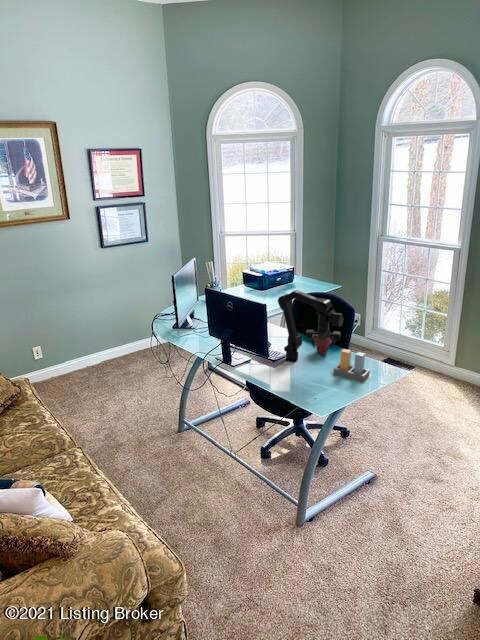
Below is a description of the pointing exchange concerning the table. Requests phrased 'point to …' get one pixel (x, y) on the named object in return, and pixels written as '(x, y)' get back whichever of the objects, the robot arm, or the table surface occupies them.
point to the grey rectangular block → (359, 363)
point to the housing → (352, 374)
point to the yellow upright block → (345, 360)
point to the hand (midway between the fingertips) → (322, 348)
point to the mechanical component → (322, 345)
